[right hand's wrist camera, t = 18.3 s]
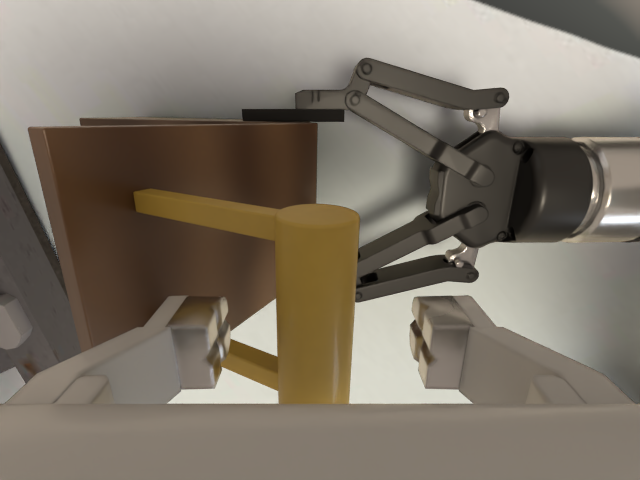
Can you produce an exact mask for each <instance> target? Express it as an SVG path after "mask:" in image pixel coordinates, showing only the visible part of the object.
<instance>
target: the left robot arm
mask: <svg viewBox="0 0 640 480" xmlns="http://www.w3.org/2000/svg"><path fill="white" fill-rule="evenodd" d="M370 85H372V86H375V87H379V88H382V89H385V90H389V91H392V92H395V93H399V94H402V95H405V96H409V97H412V98H415V99H419V100H422V101H425V102H429V103H432V104H435V105H439V106H442V107H445V108H449V109H456V110H464V112H463V114H464V118H465V119H466V120H467V121H469V122H473V123H475V124H476V125H477V127H478V131H477V132H476V133H474V134H473V135H471V136H470V137H468V138H467V139H465V140H464V141H463V142H461V143H460V144H458V145H457V146H455V147H452V146H450V145H449V144H447V143H445V142H443V141H441V140H439V139H438V138H436V137H434V136H433V135H431V134H429V133H428V132H426V131H424V130H423V129H421V128H419V127H418V126H416V125H415V124H413V123H411V122H410V121H408V120H406V119H405V118H403V117H401V116H400V115H398V114H397V113H395V112H393V111H392V110H390V109H388V108H387V107H385V106H383V105H382V104H380V103H379V102H377V101H375V100H374V99H372V98H370V97H369V96H367V95H366V94H367V91H368V89H369V86H370ZM295 99H296V109H242V117H243V121H267V122H344V110H350V111H352V112H353V113H355V114H357V115H358V116H360V117H362V118H363V119H365V120H367V121H368V122H370V123H372V124H373V125H375V126H377V127H378V128H380V129H382V130H383V131H385V132H387V133H388V134H390V135H392V136H394V137H395V138H397V139H399V140H400V141H402V142H404V143H405V144H407V145H409V146H410V147H412V148H414V149H415V150H417V151H419V152H420V153H422V154H423V155H425V156H427V157H428V158H430V159H432V160H433V161H435V163H434V165H433V167H430V174H429V180H430V186H431V189H430V192H429V194H428V197H427V203H426V209H427V210H428V211H426V212H424V213H422V214H420V215H418V216H417V217H416V218H415V219H414V220H413V221H412V222H410V223H408V224H406V225H404V226H402V227H400V228H398V229H396V230H394V231H392V232H390V233H388V234H386V235H384V236H382V237H380V238H378V239H376V240H374V241H372V242H370V243H368V244H366V245H365V246H363V247H361V248H359V249H358V260H357V277H356V293H355V302H362V301H367V300H371V299H375V298H379V297H383V296H387V295H392V294H396V293H400V292H404V291H408V290H413V289H417V288H421V287H425V286H429V285H433V284H438V283H442V282H446V281H452V282H466V283H472V282H474V281H476V280H477V279H478V277H479V273H478V271H477V270H476V269H475V268H474V265H475V261H476V257H477V253H478V249H479V248H481V247H483V246H485V245H487V244H490V243H493V242H511V243H523V242H558V241H562V242H567V243H582V242H640V137H574V138H571V139H569V138H566V137H508V136H506V135H504V134H503V133H502V132H500V131H498V128H499V116H500V108H501V107H503V106H504V105H506V103H507V102H508V99H509V93H508V91H507V90H506V89H505V88H491V89H480V90H472V89H468V88H465V87H462V86H459V85H455V84H452V83H449V82H446V81H442V80H439V79H436V78H433V77H429V76H426V75H423V74H420V73H416V72H413V71H410V70H406V69H403V68H400V67H397V66H393V65H390V64H387V63H384V62H380V61H377V60H374V59H371V58H364V59H362V60H361V61H360V62H359V63H358V64H357V65H356V66H355V68H354V72H353V74H352V77H351V80H350V83H349V85H348V86H347V87H346V88H345V89H343V90H302V91H300V92H297V93H295ZM451 236H454V237H455V238H457V239H458V240H459V241H461V242H462V243H461V245H460V246H459V247H458V248H456V249H452V250H447V251H446V254H445V255H434V256H429V257H425V258H421V259H417V260H413V261H409V262H404V263H400V264H396V265H392V266H388V267H384V268H381V267H383V266H385V265H387V264H389V263H391V262H393V261H395V260H397V259H399V258H401V257H403V256H405V255H407V254H409V253H411V252H413V251H415V250H417V249H419V248H421V247H423V246H425V245H428V244H436V243H439V242H441V241H443V240H445V239H447V238H449V237H451ZM379 268H380V269H379Z"/></svg>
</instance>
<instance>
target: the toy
mask: <svg viewBox="0 0 640 480" xmlns="http://www.w3.org/2000/svg"><path fill="white" fill-rule="evenodd" d="M80 353H81V348H80V344H79V340H78V336H77V332H76V328H75V323H74V319H73V315H72V311H71V307H70V303H69V299H68V294H67V290H66V286H65V282H64V278H63V274H62V269H61V266H60V263H59V261H58V259H57V257H56V255H55V253H54V251H53V249H52V247H51V245H50V243H49V241H48V239H47V237H46V235H45V233H44V231H43V229H42V227H41V225H40V223H39V221H38V219H37V217H36V215H35V213H34V211H33V209H32V207H31V205H30V203H29V201H28V199H27V197H26V195H25V193H24V191H23V189H22V187H21V184H20V182H19V180H18V178H17V176H16V174H15V172H14V170H13V168H12V166H11V164H10V162H9V160H8V158H7V156H6V154H5V152H4V150H3V148H2V146H1V144H0V373H2V372H4V371H6V370H8V369H11V368H13V367H15V366H16V368H17V370H18V371H19V373H20V375H21V376H22V378H23V380H24V381H25V383H27V382H29V381H30V380H31V379H32V378H33V377H34V376H35V375H36V374H37V373H39V372H41V371H44V370H46V369H48V368H50V367H52V366H54V365H57V364H59V363H61V362H63V361H65V360H67V359H70V358H72V357H74V356H76V355H78V354H80Z"/></svg>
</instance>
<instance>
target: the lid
mask: <svg viewBox="0 0 640 480" xmlns="http://www.w3.org/2000/svg"><path fill="white" fill-rule="evenodd" d="M317 127H318V124H317V123H257V124H188V125H120V126H51V127H29V128H28V132H29V136H30V141H31V145H32V149H33V153H34V157H35V161H36V165H37V170H38V174H39V178H40V182H41V186H42V190H43V195H44V199H45V203H46V207H47V211H48V215H49V220H50V224H51V228H52V232H53V236H54V240H55V244H56V249H57V253H58V257H59V261H60V265H61V269H62V274H63V278H64V282H65V286H66V290H67V294H68V299H69V303H70V307H71V311H72V315H73V319H74V323H75V328H76V332H77V336H78V340H79V344H80V348H81V353H82V352H85V351H87V350H89V349H91V348H93V347H95V346H98V345H100V344H102V343H104V342H106V341H108V340H111V339H113V338H115V337H117V336H119V335H121V334H123V333H126V332H128V331H130V330H132V329H134V328H136V327H144V325H145V324H146V323H147V322H148V321H149V319H150V318H151V317H152V316H153V315H154V313H155V312H156V311H157V310H158V309H159V307H160V306H161V305H162V304H163V302H164V301H165V300H166V299H167V298H168V297H169V296H186V295H188V296H224V297H225V298H226V300H227V305H228V313H227V315H226V317H225V320H226V321H227V322H228V323H229V325H230V331H232V330H233V329H234V328H236V327H237V326H238V325H240V324H241V323H243V322H244V321H245V320H247V319H248V318H249V317H251V316H252V315H253V314H255V313H256V312H258V311H259V310H260V309H262V308H263V307H264V306H266V305H267V304H268V303H270V302H271V301H273V300H274V299H275V298H276V309H277V353H278V357H277V356H274V355H271V354H269V353H266V352H264V351H261V350H258V349H256V348H253V347H250V346H248V345H245V344H243V343H240V342H237V341H235V340H232V339H230V347H229V352H228V355H227V358H226V359H225V360H224V361H222V362H221V367H224V368H226V369H228V370H231V371H233V372H235V373H238V374H240V375H242V376H244V377H247V378H249V379H251V380H254V381H256V382H258V383H261V384H263V385H265V386H268V387H270V388H272V389H275V390H277V391H278V397H279V404H349V394H350V377H351V360H352V344H353V327H354V310H355V293H356V277H357V260H358V243H359V227H360V217H359V214H358V213H357V212H355V211H353V210H351V209H348V208H345V207H341V206H336V205H328V204H316V184H317Z"/></svg>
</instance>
